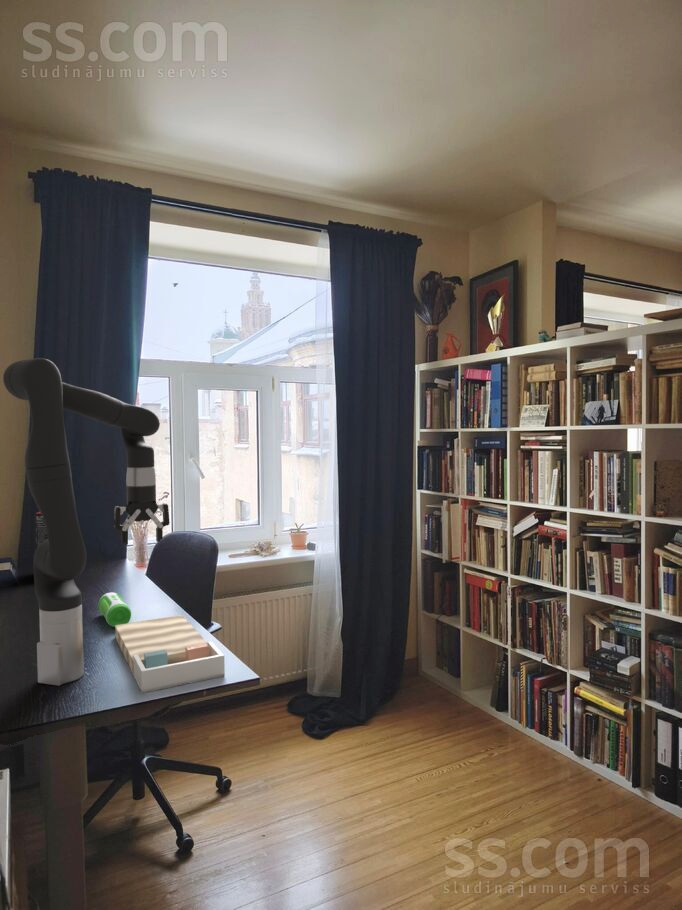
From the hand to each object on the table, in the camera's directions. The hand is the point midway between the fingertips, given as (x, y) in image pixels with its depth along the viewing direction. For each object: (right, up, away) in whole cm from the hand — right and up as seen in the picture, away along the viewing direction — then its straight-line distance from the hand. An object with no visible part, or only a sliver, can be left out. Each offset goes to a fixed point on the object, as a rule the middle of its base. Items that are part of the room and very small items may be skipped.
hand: (142, 542), depth 162 cm
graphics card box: (-63, -25, +78) cm, 103 cm away
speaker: (-16, -28, +22) cm, 38 cm away
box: (+15, -29, -19) cm, 38 cm away
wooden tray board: (+6, -28, -2) cm, 29 cm away
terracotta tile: (+18, -26, -15) cm, 35 cm away
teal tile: (+9, -26, -19) cm, 33 cm away
